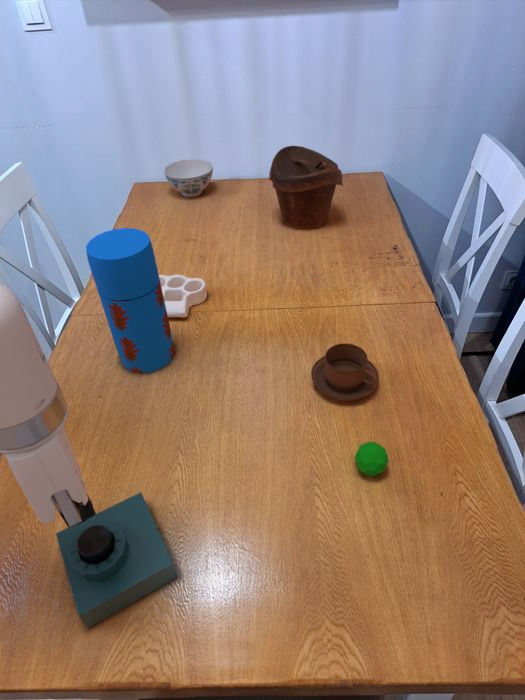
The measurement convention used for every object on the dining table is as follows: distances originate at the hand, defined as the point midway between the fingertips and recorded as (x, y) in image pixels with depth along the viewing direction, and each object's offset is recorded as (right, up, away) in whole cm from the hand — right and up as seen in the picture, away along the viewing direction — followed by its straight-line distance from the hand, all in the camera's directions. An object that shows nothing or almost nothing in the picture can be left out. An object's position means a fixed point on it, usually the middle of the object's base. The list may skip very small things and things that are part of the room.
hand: (80, 515), depth 57 cm
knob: (0, -6, +5) cm, 8 cm away
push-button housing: (+2, -9, +9) cm, 13 cm away
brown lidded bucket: (+33, +56, +81) cm, 104 cm away
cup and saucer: (+36, +13, +33) cm, 51 cm away
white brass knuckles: (-1, +30, +54) cm, 62 cm away
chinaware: (-1, +69, +98) cm, 120 cm away
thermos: (-2, +18, +41) cm, 45 cm away
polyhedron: (+38, +1, +19) cm, 42 cm away
